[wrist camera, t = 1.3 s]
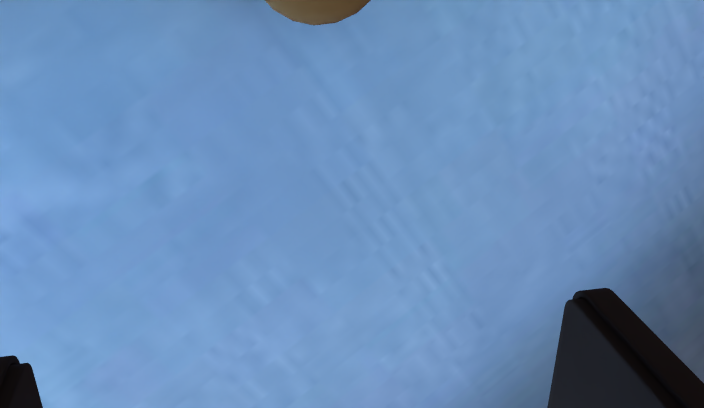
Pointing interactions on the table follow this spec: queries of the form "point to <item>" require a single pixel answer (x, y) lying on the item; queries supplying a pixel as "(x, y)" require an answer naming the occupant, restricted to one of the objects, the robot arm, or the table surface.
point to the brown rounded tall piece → (317, 10)
